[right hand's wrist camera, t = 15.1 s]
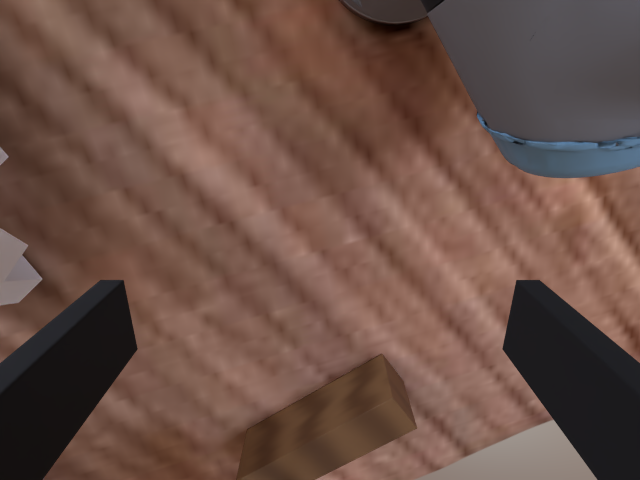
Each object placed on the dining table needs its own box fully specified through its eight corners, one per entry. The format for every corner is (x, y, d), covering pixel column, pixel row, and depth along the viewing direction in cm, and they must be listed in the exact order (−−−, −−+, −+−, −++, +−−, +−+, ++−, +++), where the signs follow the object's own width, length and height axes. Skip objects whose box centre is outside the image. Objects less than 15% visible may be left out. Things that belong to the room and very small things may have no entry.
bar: (382, 353, 51) (392, 398, 43) (403, 381, 52) (417, 428, 45) (247, 429, 55) (235, 481, 48) (270, 452, 57) (262, 506, 50)
